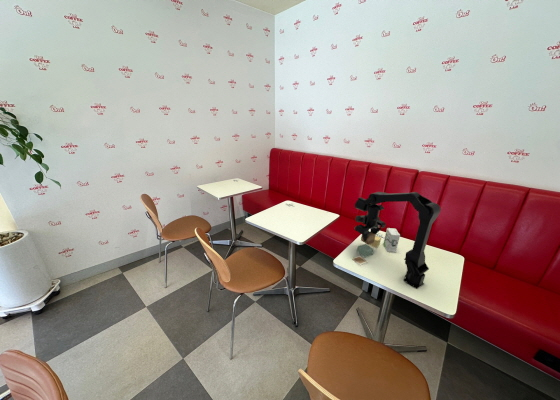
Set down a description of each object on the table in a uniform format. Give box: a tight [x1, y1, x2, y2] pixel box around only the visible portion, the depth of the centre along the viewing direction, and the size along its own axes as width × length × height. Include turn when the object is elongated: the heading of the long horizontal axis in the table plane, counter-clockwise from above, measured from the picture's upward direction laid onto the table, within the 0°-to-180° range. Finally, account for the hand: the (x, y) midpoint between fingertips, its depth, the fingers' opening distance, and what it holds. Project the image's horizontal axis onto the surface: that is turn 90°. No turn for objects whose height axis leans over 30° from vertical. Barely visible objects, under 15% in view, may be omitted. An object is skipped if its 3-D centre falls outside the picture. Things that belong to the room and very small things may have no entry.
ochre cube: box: [368, 235, 382, 249], centre depth 133 cm, size 5×5×5 cm
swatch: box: [351, 255, 368, 266], centre depth 118 cm, size 6×6×1 cm
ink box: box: [382, 227, 401, 253], centre depth 128 cm, size 9×5×12 cm, turn 172°
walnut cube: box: [360, 230, 376, 246], centre depth 121 cm, size 5×5×5 cm
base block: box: [356, 243, 375, 258], centre depth 124 cm, size 6×6×4 cm
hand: (367, 239), depth 121 cm, fingers closed on walnut cube, 5 cm apart
